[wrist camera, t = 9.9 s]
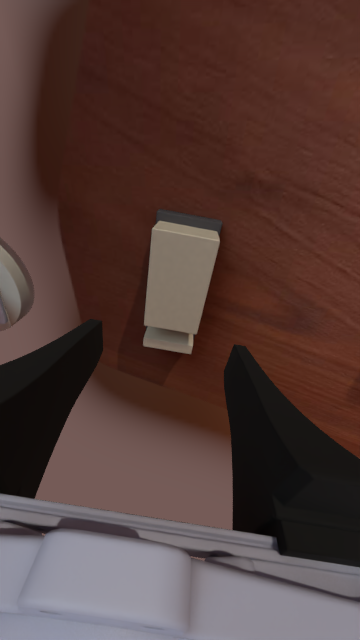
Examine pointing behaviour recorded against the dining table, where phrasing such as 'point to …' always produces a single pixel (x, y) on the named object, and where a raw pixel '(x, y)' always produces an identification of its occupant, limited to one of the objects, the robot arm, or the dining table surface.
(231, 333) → the dining table surface
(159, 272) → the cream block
